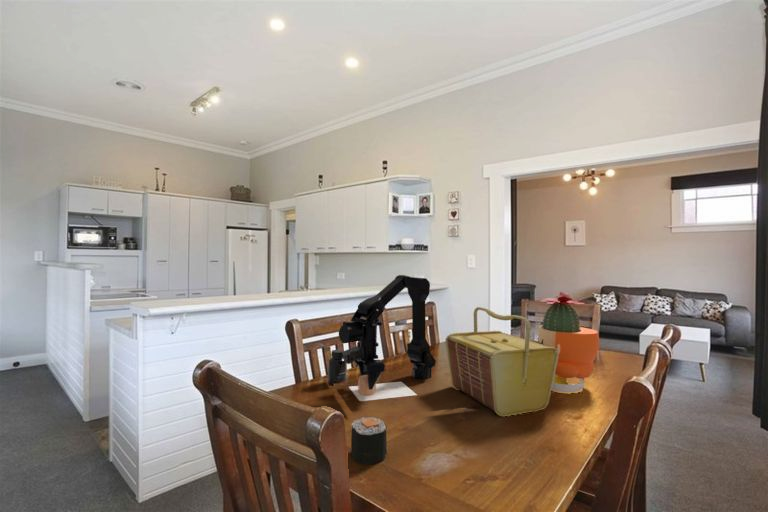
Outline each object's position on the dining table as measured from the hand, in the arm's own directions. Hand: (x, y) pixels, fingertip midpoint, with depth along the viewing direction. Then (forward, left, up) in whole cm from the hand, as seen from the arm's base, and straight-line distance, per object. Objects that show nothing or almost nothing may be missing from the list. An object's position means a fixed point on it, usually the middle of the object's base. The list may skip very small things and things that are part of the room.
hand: (367, 385), depth 130 cm
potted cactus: (-76, +10, -4) cm, 77 cm away
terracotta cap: (0, 0, -2) cm, 2 cm away
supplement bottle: (+7, -16, -4) cm, 18 cm away
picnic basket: (-41, +15, -4) cm, 44 cm away
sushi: (+11, +36, -4) cm, 38 cm away
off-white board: (-5, 0, -4) cm, 7 cm away
